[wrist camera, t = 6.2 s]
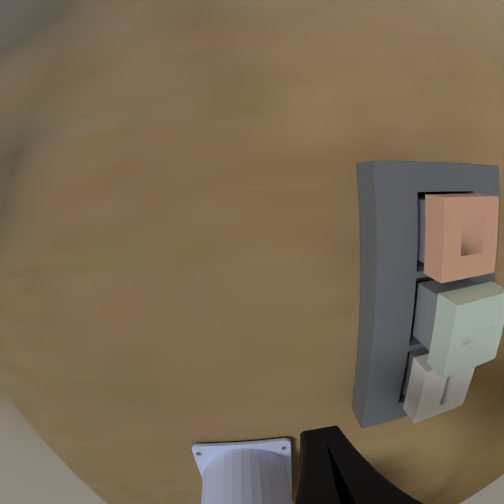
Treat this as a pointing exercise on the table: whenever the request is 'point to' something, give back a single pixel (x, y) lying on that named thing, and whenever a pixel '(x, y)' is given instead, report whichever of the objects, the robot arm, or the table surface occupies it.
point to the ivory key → (431, 388)
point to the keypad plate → (397, 271)
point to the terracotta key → (457, 235)
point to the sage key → (459, 323)
